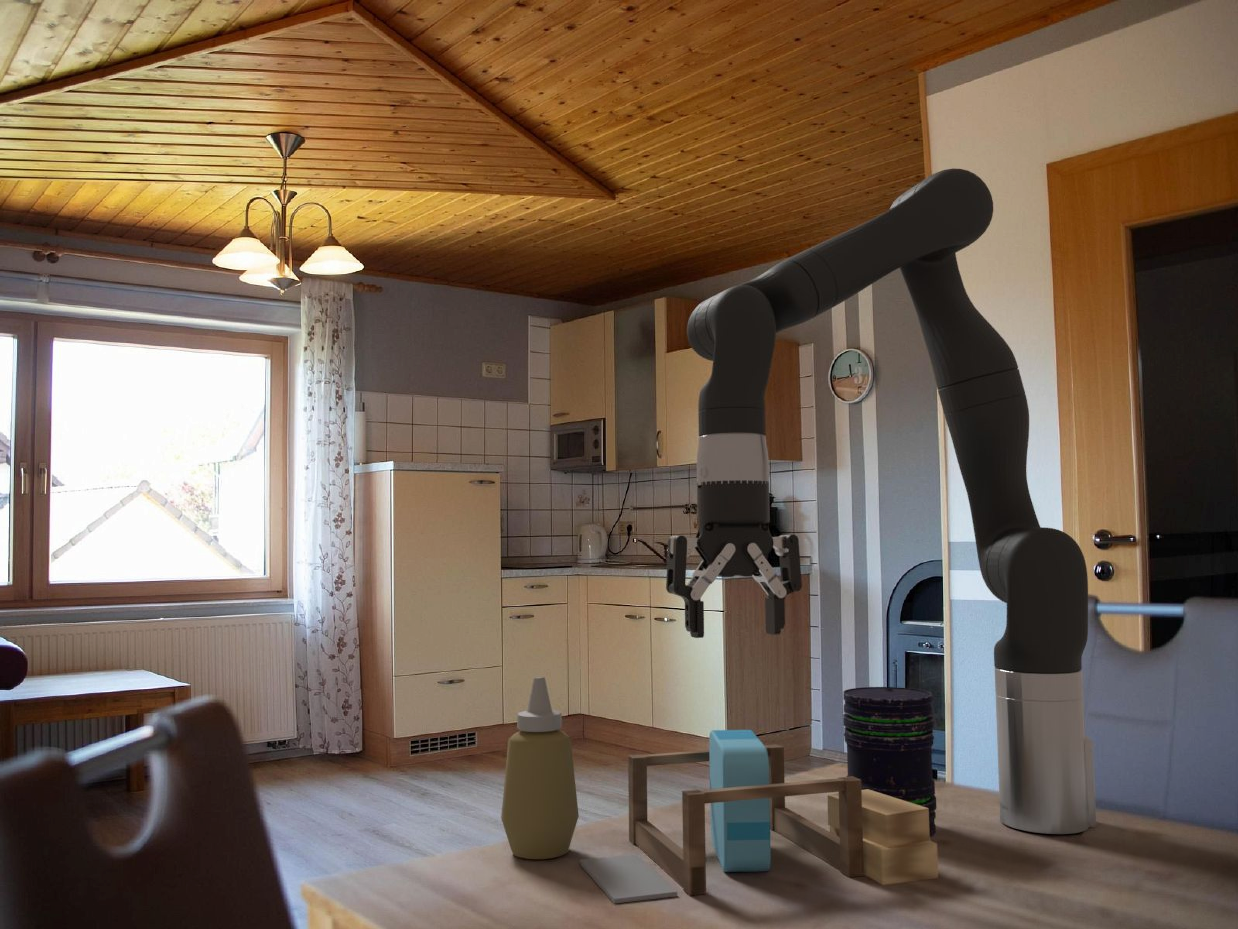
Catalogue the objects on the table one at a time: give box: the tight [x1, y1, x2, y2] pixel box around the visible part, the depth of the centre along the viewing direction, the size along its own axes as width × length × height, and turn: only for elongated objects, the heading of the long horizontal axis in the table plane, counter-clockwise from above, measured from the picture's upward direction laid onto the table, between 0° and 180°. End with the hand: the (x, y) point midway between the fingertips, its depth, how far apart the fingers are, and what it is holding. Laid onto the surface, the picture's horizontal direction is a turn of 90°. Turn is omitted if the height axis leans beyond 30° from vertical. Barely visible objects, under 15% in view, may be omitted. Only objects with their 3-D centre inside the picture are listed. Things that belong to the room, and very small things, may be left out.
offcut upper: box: [827, 789, 931, 848], centre depth 103 cm, size 5×9×3 cm, turn 26°
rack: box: [627, 743, 865, 897], centre depth 106 cm, size 18×19×9 cm
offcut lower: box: [829, 825, 939, 886], centre depth 102 cm, size 6×10×4 cm, turn 17°
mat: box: [579, 853, 678, 904], centre depth 99 cm, size 6×12×1 cm, turn 17°
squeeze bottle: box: [500, 676, 580, 860], centre depth 108 cm, size 8×8×18 cm
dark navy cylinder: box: [842, 686, 937, 839], centre depth 116 cm, size 10×10×15 cm
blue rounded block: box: [708, 729, 772, 873], centre depth 106 cm, size 12×4×12 cm, turn 1°
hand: (735, 635), depth 107 cm, fingers open, 8 cm apart
